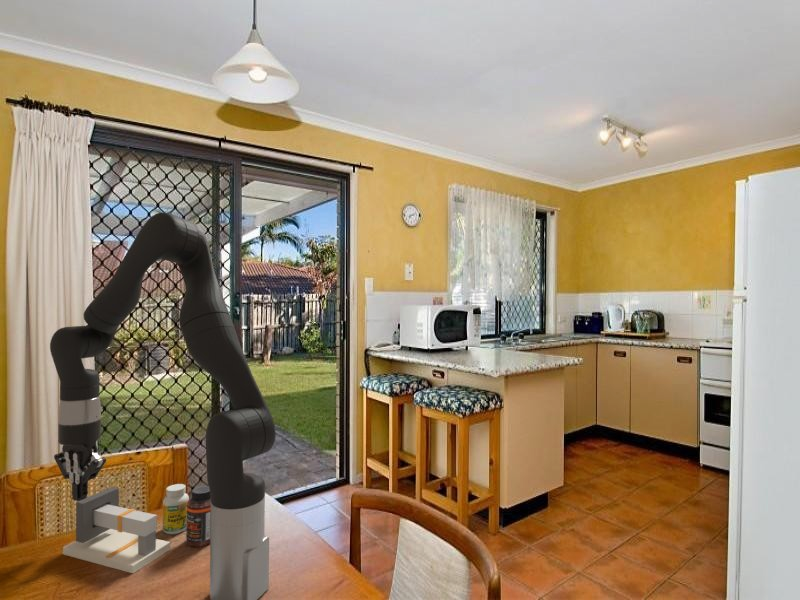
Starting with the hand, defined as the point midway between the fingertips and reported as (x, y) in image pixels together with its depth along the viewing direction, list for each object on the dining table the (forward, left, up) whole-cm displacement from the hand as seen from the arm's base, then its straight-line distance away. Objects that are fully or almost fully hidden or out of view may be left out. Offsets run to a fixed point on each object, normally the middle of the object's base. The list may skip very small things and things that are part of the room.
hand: (79, 499), depth 99 cm
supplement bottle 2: (-24, -10, -10) cm, 27 cm away
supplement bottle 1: (-15, -12, -10) cm, 21 cm away
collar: (-5, 0, -6) cm, 8 cm away
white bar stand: (-11, 0, -9) cm, 14 cm away
